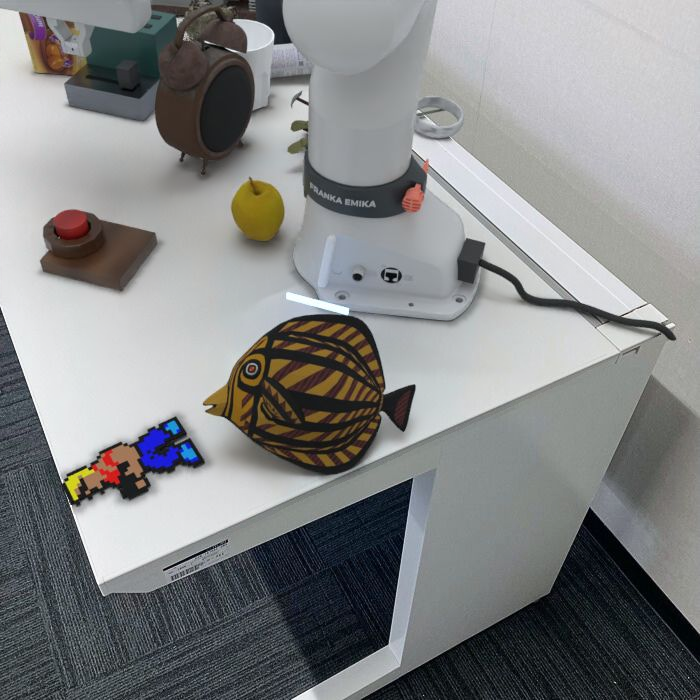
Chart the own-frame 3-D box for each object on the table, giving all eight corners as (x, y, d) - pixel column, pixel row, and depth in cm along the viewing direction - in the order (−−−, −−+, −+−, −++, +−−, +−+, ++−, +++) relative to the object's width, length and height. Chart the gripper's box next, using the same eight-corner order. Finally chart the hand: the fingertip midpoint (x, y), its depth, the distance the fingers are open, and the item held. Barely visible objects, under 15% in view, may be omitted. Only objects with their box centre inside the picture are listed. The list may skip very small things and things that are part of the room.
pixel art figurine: (176, 418, 75) (56, 474, 70) (176, 416, 75) (55, 471, 70) (204, 462, 72) (80, 524, 67) (204, 460, 72) (79, 522, 67)
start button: (95, 225, 90) (92, 213, 89) (79, 243, 88) (75, 231, 86) (67, 218, 91) (64, 206, 89) (50, 236, 88) (47, 224, 87)
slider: (140, 81, 112) (137, 61, 109) (132, 89, 110) (128, 69, 108) (128, 78, 112) (124, 58, 110) (119, 87, 110) (115, 67, 108)
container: (322, 34, 120) (226, 43, 119) (326, 49, 117) (227, 59, 116) (324, 62, 123) (230, 71, 122) (327, 78, 120) (231, 87, 119)
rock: (216, -15, 131) (167, -3, 126) (249, 2, 127) (200, 16, 122) (217, 18, 135) (170, 31, 130) (250, 35, 131) (203, 50, 126)
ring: (403, 117, 111) (401, 129, 112) (456, 134, 110) (454, 145, 111) (419, 88, 116) (417, 99, 117) (471, 104, 114) (468, 115, 116)
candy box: (98, 64, 122) (78, -37, 110) (90, 77, 119) (69, -25, 108) (42, 59, 122) (16, -42, 111) (33, 73, 119) (5, -30, 108)
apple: (240, 216, 97) (236, 162, 91) (290, 223, 97) (289, 169, 91) (227, 249, 93) (222, 194, 87) (279, 256, 93) (278, 202, 87)
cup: (278, 84, 120) (277, 21, 112) (272, 118, 113) (270, 53, 106) (213, 80, 120) (208, 17, 112) (204, 114, 113) (197, 49, 106)
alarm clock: (203, 191, 101) (187, 43, 86) (159, 173, 103) (136, 25, 88) (266, 140, 109) (261, -2, 95) (224, 124, 112) (213, -17, 97)
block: (157, 243, 93) (153, 220, 91) (121, 291, 87) (116, 268, 85) (73, 223, 95) (67, 200, 92) (33, 269, 89) (25, 245, 86)
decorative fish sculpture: (322, 523, 68) (246, 492, 76) (425, 404, 76) (346, 388, 84) (248, 406, 61) (173, 386, 70) (369, 288, 69) (289, 283, 77)
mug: (244, 42, 128) (240, -27, 120) (295, 34, 131) (295, -34, 123) (270, 76, 121) (268, 4, 113) (323, 67, 124) (325, -4, 116)
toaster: (183, 78, 120) (175, 13, 113) (143, 121, 111) (132, 54, 104) (113, 64, 122) (101, -1, 115) (68, 105, 113) (52, 38, 106)
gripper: (-52, -74, 83) (-13, 49, 93) (118, -46, 80) (140, 80, 90) (-16, -93, 87) (18, 28, 97) (147, -66, 84) (165, 56, 94)
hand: (78, 53), depth 94 cm, fingers closed
